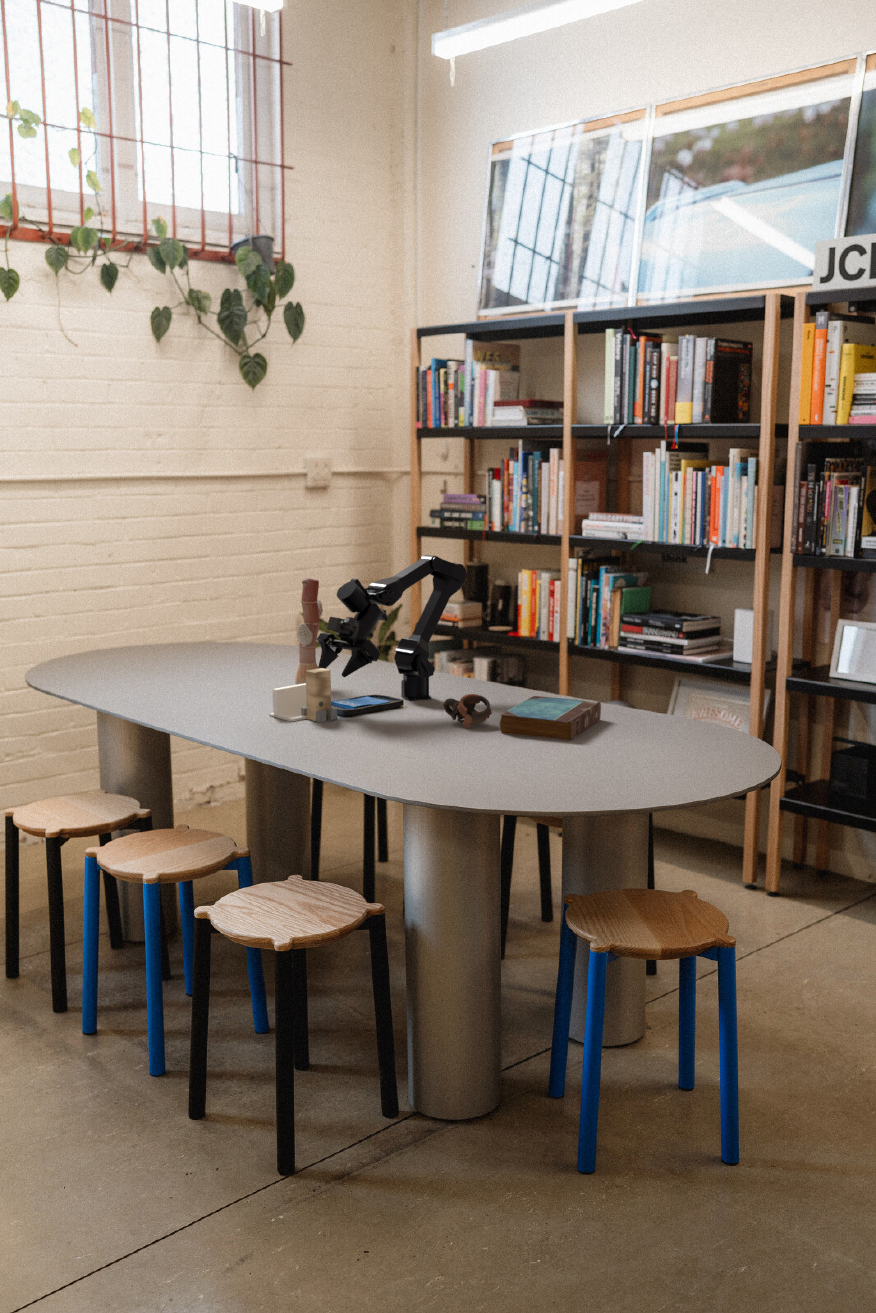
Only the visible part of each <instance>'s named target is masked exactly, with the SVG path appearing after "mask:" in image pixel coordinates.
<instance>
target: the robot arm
mask: <svg viewBox="0 0 876 1313" xmlns="http://www.w3.org/2000/svg"><path fill="white" fill-rule="evenodd" d="M429 575H431V576H432V587H433V589H432V591H431V594H430V595H429V598H428V600H427V602H426V604H425V607H424V609H423V610H422V613H421V614H420V617H419V619H418V621H417V623H416V626H414V630H413V631H412V634H411V635H410V636H409V637H408V638H404V637H402V638H401V639H400V640H399V642H398V645H397V646H396V648H395V650H394V652H395V653H394V656H393V657H394V658H393V659H394V662H395V665H396V668H397V671H398V674H400V675H402V677H403V678H402V679H401V681H400V682H401V687H400V688H401V689H400V692H401V695H400V696H401V697H402V698H404V699H406V700H408V701H416V700H418V701H419V700H431V699H432V696H431V695H430V678H431V677H433V676H434V672H435V670H436V668H435V666H434V665H433V664H432V663H431V662H430V660H429V656H430V647H429V646H430V645H429V643H430V641H431V639H432V637H433V634H434V632H435V630H436V628H437V626H438V625H439V624H438V623H439V622H440V620H441V617H442V615H443V614H444V611H445V609H446V607H447V605H448V603H449V602H450V599H451V597H452V596H453V595H455V594H456V593H457V592H459V591H460V590H461V588H462V586H463V585H464V584H465V582H466V580H467V577H468V573H467V570H466V567H465V566H464V565H463V564H461V563H455V562H451V561H448V560H446V559H443V558H441V557H439V556H438V555H429V554H424V555H423V556H421V557H420V558H419V559H418V560H416V561H415V562H413V563H412V564H410V565H409V566H407V567H404V569H402V570H401V571H399V572H398V573H396V574H394V575H393V576H391V577H386V578H381V579H379V580H375V581H373V582H371V583H369V585H368V587H364V585H363V584H362V583H361V581H360V580H359V578H351V579H350V580H349V581H348V582H345V583H344V584H342V586H340V587H339V588H338V590H337V592H336V598H337V599H338V600H339V601H340V602H341V603H342V604H343V605H344V606H345V607H346V609H348V611H349V612H350V613H356V614H355V615H354V617H353V616H352V617H351V616H346V617H345V618H340V617H335V616H329V619H328V622H327V625H326V630H329V631H333V632H336V633H335V634H333V633H330V632H320V633H319V635H317V640H316V642H318V645H319V647H320V648H321V651H320V652H321V653H320V658H319V663H318V665H317V666H318V669H319V668H324V669H328V667H329V666H330V665H331V664H332V663H334V661H335V660H337V659H338V658H339V654H340V653H341V652H342V651H343V650H346V651H347V650H348V651H351V656H350V658H349V660H348V661H347V662H346V665H345V666H344V668H343V670H342V672H341V676H342V677H343V678H346V677H348V676H349V675H351V674H353V673H354V672H356V671H358V670H360V669H361V668H364V667H365V666H367V665H369V664H373V662H376V663H377V662H378V660H379V658H380V657H381V650H380V649H379V648H378V647H377V646H376V644H374V642H372V640H370V639H372V638H373V636H374V634H373V633H372V632H373V631H374V628H376V625H377V624H378V622H379V621H385V622H387V621H388V620H389V619H388V615H387V610H386V609H382V608H381V607H380V606H385V607H392V606H394V605H395V604H396V603H397V602H398V601H399V600H400V599H401V598H402V597H403V594H404V592H405V591H406V590H408V589H410V587H412V586H414V585H415V584H417V583H418V582H420V581H421V580H423V579H424V578H426V577H427V576H429ZM335 635H336V636H335ZM339 638H340V639H339ZM368 638H369V639H368Z"/></svg>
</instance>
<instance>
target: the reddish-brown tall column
mask: <svg viewBox="0 0 876 1313" xmlns="http://www.w3.org/2000/svg"><path fill="white" fill-rule="evenodd" d="M301 583H302V591H301V592H302V593H301V601H300V602H301V606H302V607H301V608H302V614H303V622H301V623H299V625H298V627H297V630H296V631H297V632H296V637H297V639H298V642H299V643H298V651H299V652H298V653H299V656H298V658H299V664H298V667H297V669H296V674H295V681H294V682H295V684H294V685H298V684H304V683H306V671H307V670H313V669H318V666H319V665H318V663H317V659H316V658H317V657H316V654H317V652H316V644H317V638H318V636H319V635H318V634H319V630H320V625H321V620H320V618H321V617H322V615H323V612H324V611H323V604H322V601H321V600H320V599H318V595H319V588H320V581H319V579H314V578H307V577H306V578H303V579H302V581H301Z"/></svg>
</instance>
